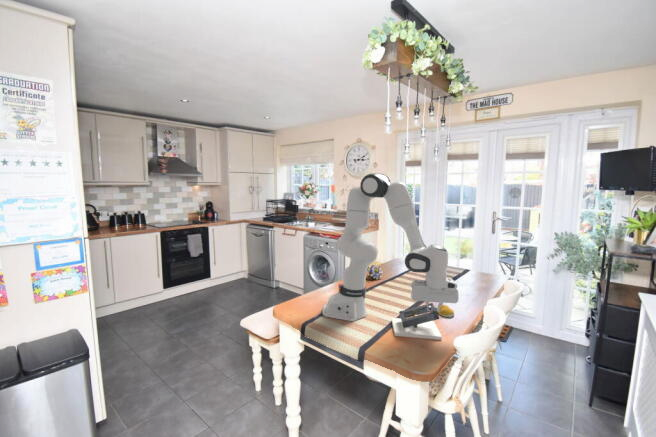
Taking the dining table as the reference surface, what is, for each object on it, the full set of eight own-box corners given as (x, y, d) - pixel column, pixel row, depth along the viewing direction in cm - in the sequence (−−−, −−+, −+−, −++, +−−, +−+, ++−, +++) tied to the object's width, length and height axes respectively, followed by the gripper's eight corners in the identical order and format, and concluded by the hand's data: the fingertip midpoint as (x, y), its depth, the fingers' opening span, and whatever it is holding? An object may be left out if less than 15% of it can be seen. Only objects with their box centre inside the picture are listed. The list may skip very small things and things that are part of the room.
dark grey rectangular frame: (403, 328, 134) (401, 322, 133) (400, 317, 144) (398, 311, 143) (439, 318, 131) (437, 312, 131) (433, 308, 141) (432, 302, 141)
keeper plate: (394, 335, 132) (395, 320, 131) (391, 320, 146) (392, 306, 145) (441, 339, 130) (443, 324, 129) (433, 324, 144) (434, 310, 143)
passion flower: (376, 287, 205) (372, 276, 198) (365, 279, 213) (360, 268, 206) (387, 276, 209) (383, 265, 202) (375, 269, 217) (372, 258, 210)
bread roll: (442, 318, 151) (443, 311, 151) (433, 310, 160) (434, 303, 159) (457, 317, 153) (458, 310, 152) (447, 309, 162) (448, 302, 161)
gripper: (412, 282, 132) (410, 311, 134) (461, 285, 130) (458, 315, 132) (410, 277, 138) (408, 305, 140) (456, 280, 136) (453, 308, 138)
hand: (433, 310), depth 136 cm, fingers closed on dark grey rectangular frame, 2 cm apart
